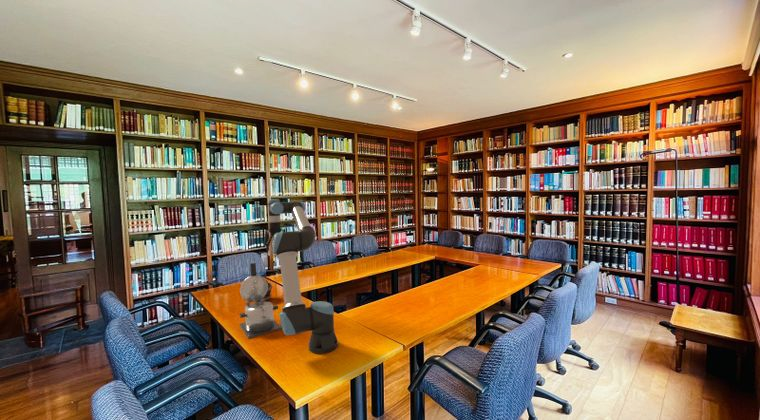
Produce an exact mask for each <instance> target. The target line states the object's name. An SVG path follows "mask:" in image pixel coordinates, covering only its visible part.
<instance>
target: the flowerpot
mask: <svg viewBox="0 0 760 420" xmlns="http://www.w3.org/2000/svg"><path fill="white" fill-rule="evenodd" d="M265 280H266V279H265ZM266 281H267V283H268V291H267V293H266V295H265V296H264V297H263V298H262V299H264V300H265V302H269V300H270V299H271V297H272V295H271V291H272V289H273V285H272V284H271V283H270V282H269V281H268V280H266ZM257 302H261V300H259V301H256V302H255V303H257Z"/></svg>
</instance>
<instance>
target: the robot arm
mask: <svg viewBox="0 0 760 420" xmlns="http://www.w3.org/2000/svg"><path fill="white" fill-rule="evenodd" d="M267 208H268V222H269V223H268V226H269V229H268V230H264V239H263V244H262V245H263V246H265V247H266V251H267V256H271V246H270V244H271V242H272V254H273V255H275V257H276V258H277V259H278V260H279V267H280V274H281V282H282V283H281V284H282V290H283V291H282V293H283V301H284V305H283V307H282V308H281V310H282V311H281V312H279V320H280V326H281V327H282V329H281V330H282V332H283V333H284V335H286V336H291V335H292V336H293V335H294V336H295V335H297V334H302V333H306V332H311V334H310V339H309V342H308V350H309V351H310V352H312V353H314V354H328V353H331V352H333V351H335V350H336V349H337V348H338V347H339V343H338V342H339V341H338V337H337V335H336V332H335V321H334V315H335V313H334V312H335V311H334V305H333V304H332V303H330V302H328V301H321V300H320V301H314V302H311V303H310V306H308V307H307V306H306V303H305V302H303V301H302V300H303V298H302V292H301V285H300V277H299V276H300V275H299V269H298V263H297V257H298V256H299V252H305V251H307V250H309V249H310V248H311V247H312V246H313V245H314V243H315V241H316V238H317V237H316V231H315V229H314V227H312V226H311V224H310V222H309V220H308V217H307V215H306V213H305V212H306V204H305V202H304V201H284V202H283V201H282V202H281V201H280V199H279V198H273V199H268V200H267ZM281 214H282V215H283V214H284V215H285V214H292V217H293V219H294V221H295V225H296V228H297V230H292V231H286V230H287V229H285V228H281V227H282V226H281V225H282V223H281ZM268 236H269V238H268ZM272 239H273V240H272Z"/></svg>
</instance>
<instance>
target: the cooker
mask: <svg viewBox="0 0 760 420" xmlns="http://www.w3.org/2000/svg"><path fill="white" fill-rule="evenodd" d="M275 310H279V306H278V305H277V304H275V305H274V303H273V302H272V301H271V302H270V301H265V300H264V299H261V302H252V303H251V302H248V301H246V302H245V308H244V312H242V313H239V318H240V319H243V318H245V322H242V323H241V322H240V323H238V324H239V328H241V330H242V331H243V333H244V335H245V336H246V338H247V339H248V340H249V339H253V338H256V337H258V336H263V335H265V334H268V333H269V334H270V333H273V332H277V331H281V330H283V329H282V326H281V324H279V323H278V322H277V321H276V320H275V317H274V316H275V314H274V311H275Z"/></svg>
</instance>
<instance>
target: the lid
mask: <svg viewBox="0 0 760 420" xmlns="http://www.w3.org/2000/svg"><path fill="white" fill-rule="evenodd" d="M249 267H250V269H249V270H250V275H249V276H248V277H246V278H245V279H243V281H242V282H241V284H240V287H239V293H240V296H241V297H242V299H243V300H245V301H246V302H250V303H257V302H256V301H259V300H261V299H262V298H263V297H264V296H265V295H266V293H267V291H268V283H269V282H268V280H267V281H266V279H265V278H264V277H263V276H261V275H258V274H257V265H256V262H252V263H249ZM267 282H268V283H267Z"/></svg>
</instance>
